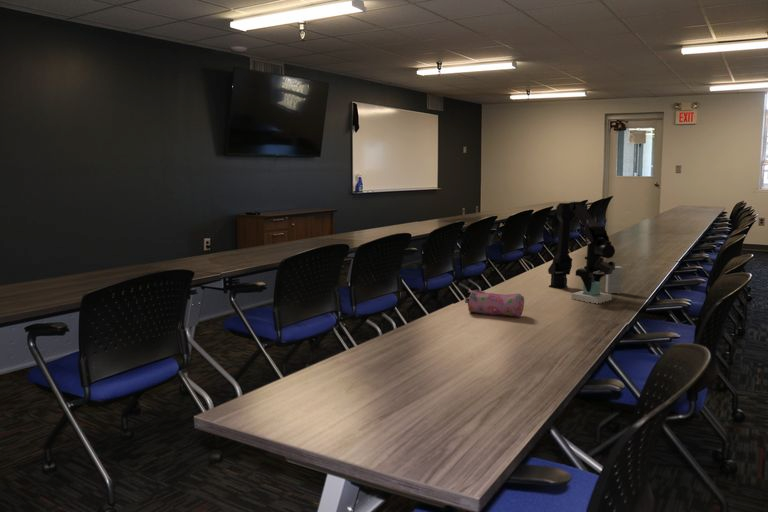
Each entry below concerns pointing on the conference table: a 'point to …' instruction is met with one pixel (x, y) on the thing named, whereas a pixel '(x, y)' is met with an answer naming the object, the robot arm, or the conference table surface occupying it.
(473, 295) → the pencil case
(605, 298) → the socket plate
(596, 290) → the plug
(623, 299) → the conference table surface
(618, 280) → the skincare box
